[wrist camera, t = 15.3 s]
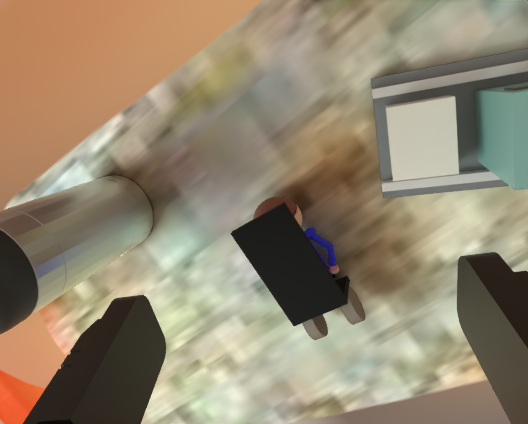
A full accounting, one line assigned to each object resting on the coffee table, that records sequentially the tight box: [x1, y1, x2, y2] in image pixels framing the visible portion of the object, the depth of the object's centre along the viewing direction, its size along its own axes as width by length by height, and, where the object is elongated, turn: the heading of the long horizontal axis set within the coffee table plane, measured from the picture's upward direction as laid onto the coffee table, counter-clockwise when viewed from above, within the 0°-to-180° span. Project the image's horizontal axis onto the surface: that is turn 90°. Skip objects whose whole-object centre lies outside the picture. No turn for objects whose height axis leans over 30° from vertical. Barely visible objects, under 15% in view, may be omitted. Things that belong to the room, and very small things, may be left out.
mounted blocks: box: [386, 95, 459, 181], centre depth 30 cm, size 18×6×4 cm, turn 101°
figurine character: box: [231, 197, 365, 340], centre depth 39 cm, size 7×8×15 cm
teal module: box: [475, 82, 528, 190], centre depth 28 cm, size 4×6×10 cm, turn 11°
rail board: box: [371, 48, 528, 198], centre depth 32 cm, size 20×11×2 cm, turn 101°
